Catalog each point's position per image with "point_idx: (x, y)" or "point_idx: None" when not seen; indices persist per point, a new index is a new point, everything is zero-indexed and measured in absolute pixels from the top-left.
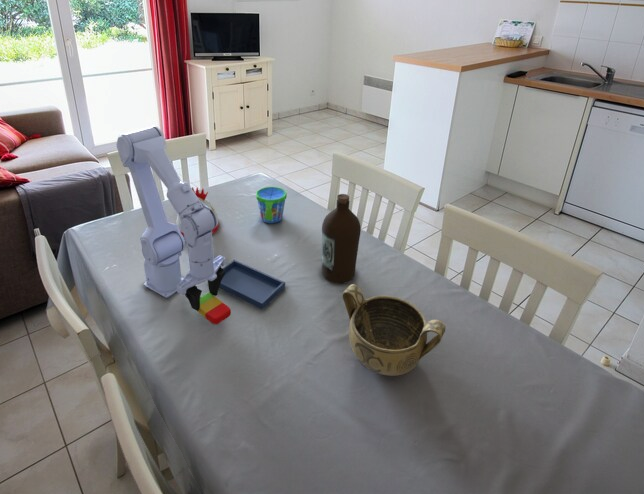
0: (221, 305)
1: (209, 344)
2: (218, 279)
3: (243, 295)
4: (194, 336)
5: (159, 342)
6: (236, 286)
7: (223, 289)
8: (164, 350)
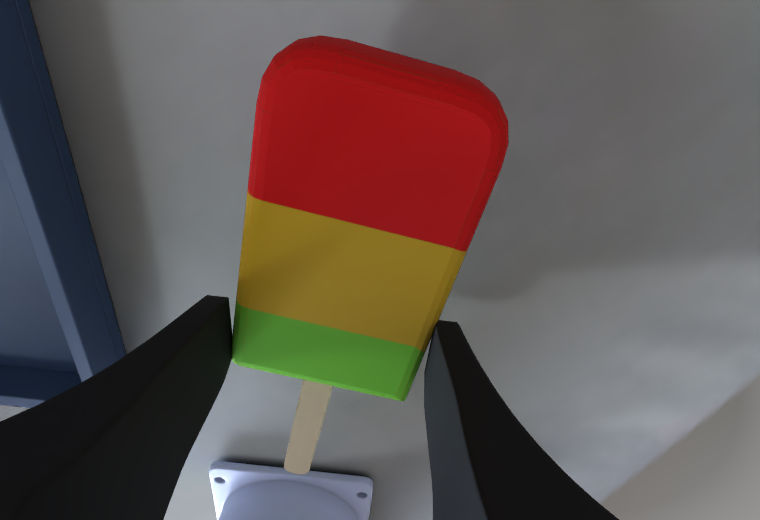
0: (295, 182)
1: (626, 40)
2: (88, 454)
3: (12, 104)
4: (578, 201)
5: (686, 347)
6: (3, 232)
7: (102, 290)
8: (749, 290)
